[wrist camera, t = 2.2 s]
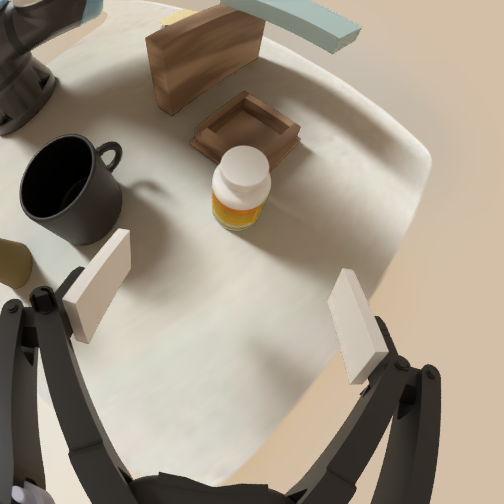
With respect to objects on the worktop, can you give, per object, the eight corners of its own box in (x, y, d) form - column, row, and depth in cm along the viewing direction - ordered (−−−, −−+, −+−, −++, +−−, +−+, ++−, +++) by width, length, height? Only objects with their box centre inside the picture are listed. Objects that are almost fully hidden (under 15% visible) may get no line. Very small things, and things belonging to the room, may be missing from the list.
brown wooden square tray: (190, 144, 32) (188, 129, 29) (241, 103, 34) (243, 87, 31) (252, 190, 32) (256, 177, 28) (299, 142, 34) (306, 127, 31)
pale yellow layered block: (176, 26, 39) (175, 5, 33) (215, 32, 39) (217, 10, 34) (147, 50, 36) (143, 27, 31) (189, 57, 36) (188, 33, 31)
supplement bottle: (260, 232, 31) (280, 196, 21) (211, 231, 30) (210, 193, 20) (259, 188, 32) (276, 140, 22) (212, 187, 31) (213, 137, 22)
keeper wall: (158, 107, 33) (145, 37, 21) (244, 51, 38) (253, -7, 26) (172, 116, 33) (162, 44, 21) (257, 58, 38) (270, -1, 25)
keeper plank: (220, 3, 24) (221, -11, 21) (253, -7, 26) (256, -20, 23) (332, 54, 23) (339, 38, 21) (355, 40, 25) (362, 27, 22)
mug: (154, 190, 30) (135, 147, 21) (82, 262, 27) (40, 242, 18) (111, 148, 31) (89, 104, 22) (47, 211, 28) (9, 182, 19)
